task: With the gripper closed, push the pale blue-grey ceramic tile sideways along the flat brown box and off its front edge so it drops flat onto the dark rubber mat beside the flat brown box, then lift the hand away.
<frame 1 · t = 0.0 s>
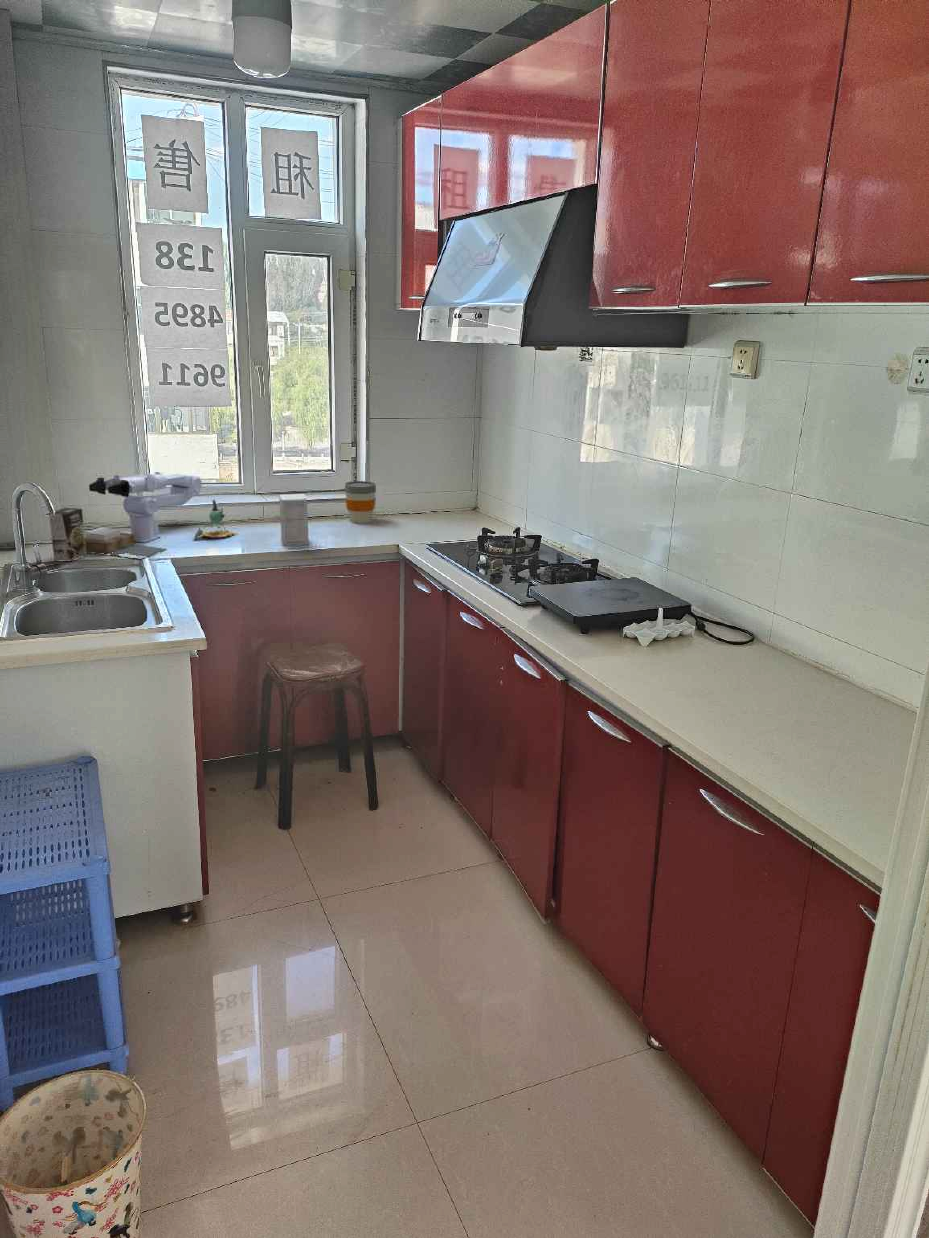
hand: (99, 488, 295), 22 cm above the countertop, fingers open, 7 cm apart
mat: (137, 552, 303), on the countertop
flat brown box: (107, 548, 307), on the countertop
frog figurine: (214, 537, 327), on the countertop
tile: (103, 536, 305), point 4 cm above the countertop, touching flat brown box
supplement box: (294, 542, 323), on the countertop
coffee box: (71, 558, 294), on the countertop
reusable coffee cup: (360, 521, 358), on the countertop
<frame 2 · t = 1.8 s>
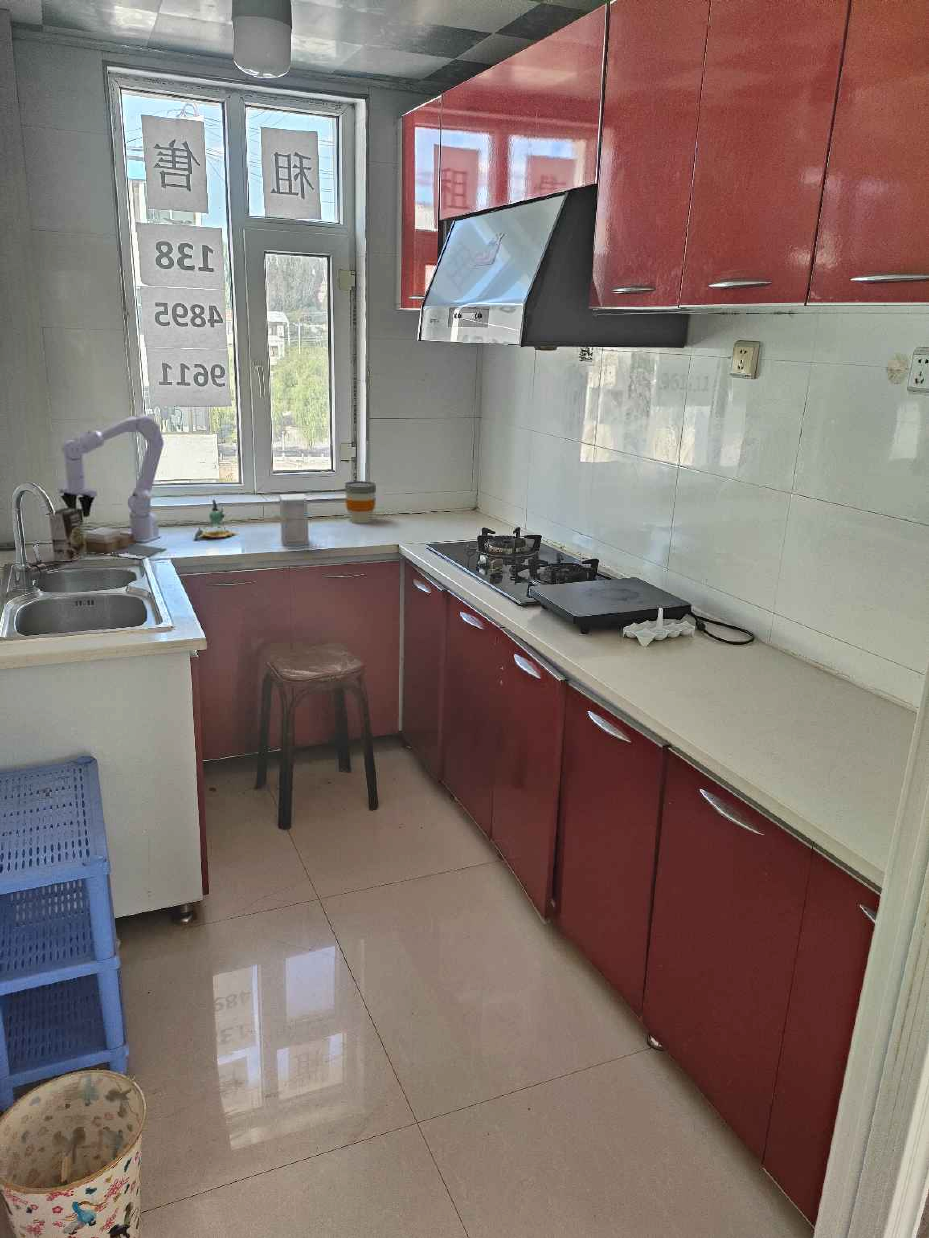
hand: (80, 515, 306), 10 cm above the countertop, fingers open, 5 cm apart
nothing on the countertop moved.
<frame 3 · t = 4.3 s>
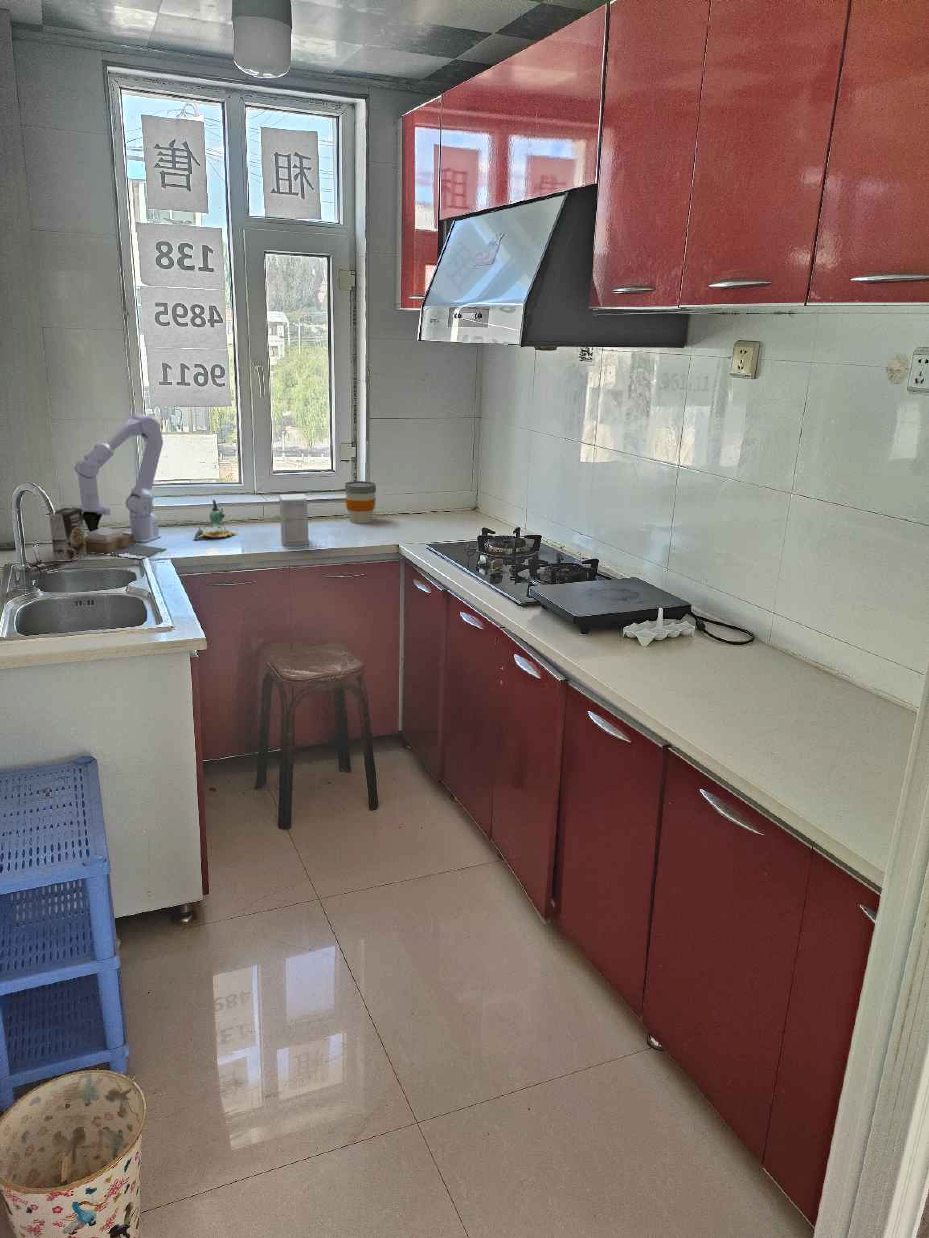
hand: (93, 533, 306), 5 cm above the countertop, fingers closed
tile: (105, 536, 305), point 4 cm above the countertop, touching flat brown box, gripper
everything else where it was.
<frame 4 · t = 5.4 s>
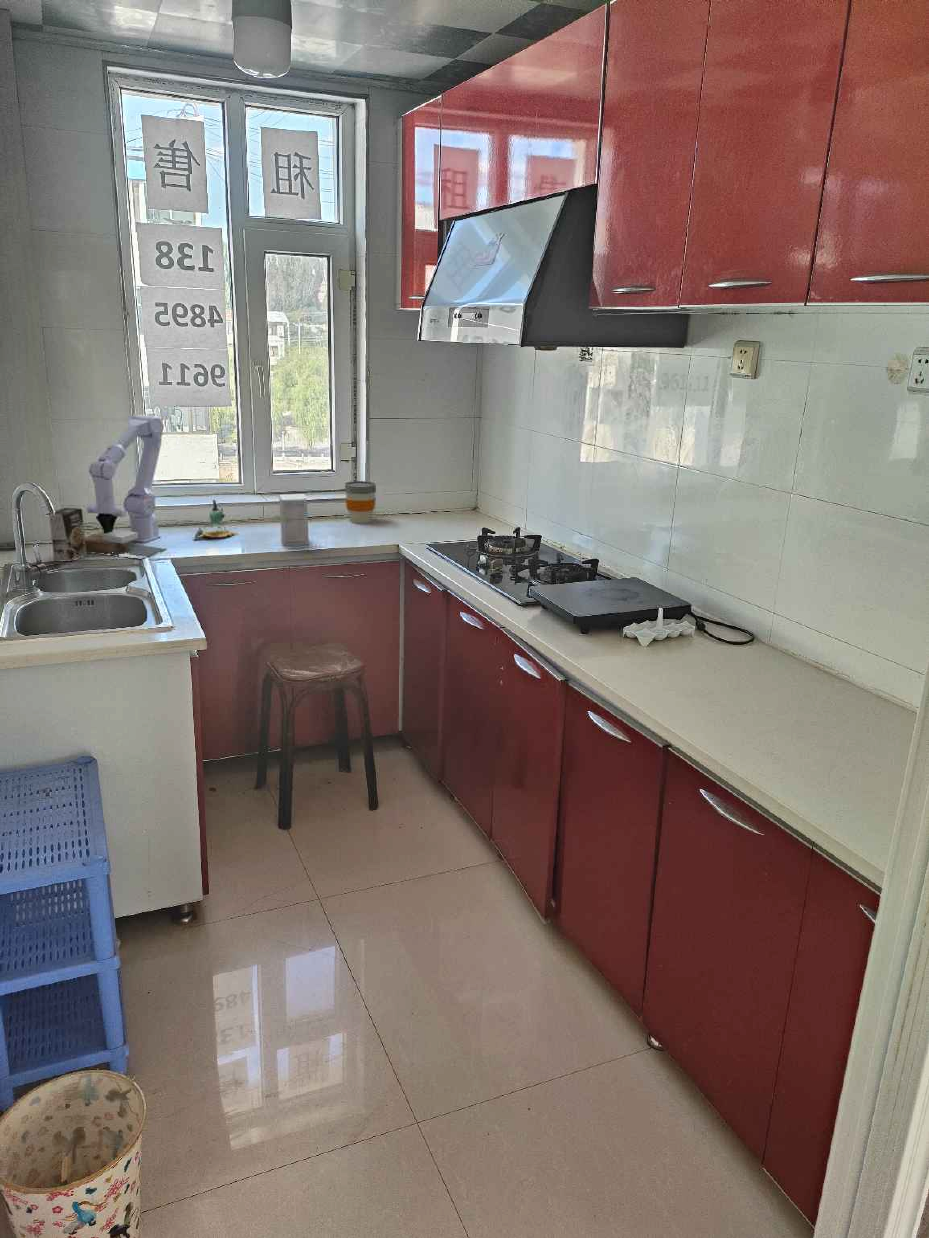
hand: (108, 535, 305), 5 cm above the countertop, fingers closed
tile: (120, 539, 303), point 4 cm above the countertop, touching gripper
everything else where it was.
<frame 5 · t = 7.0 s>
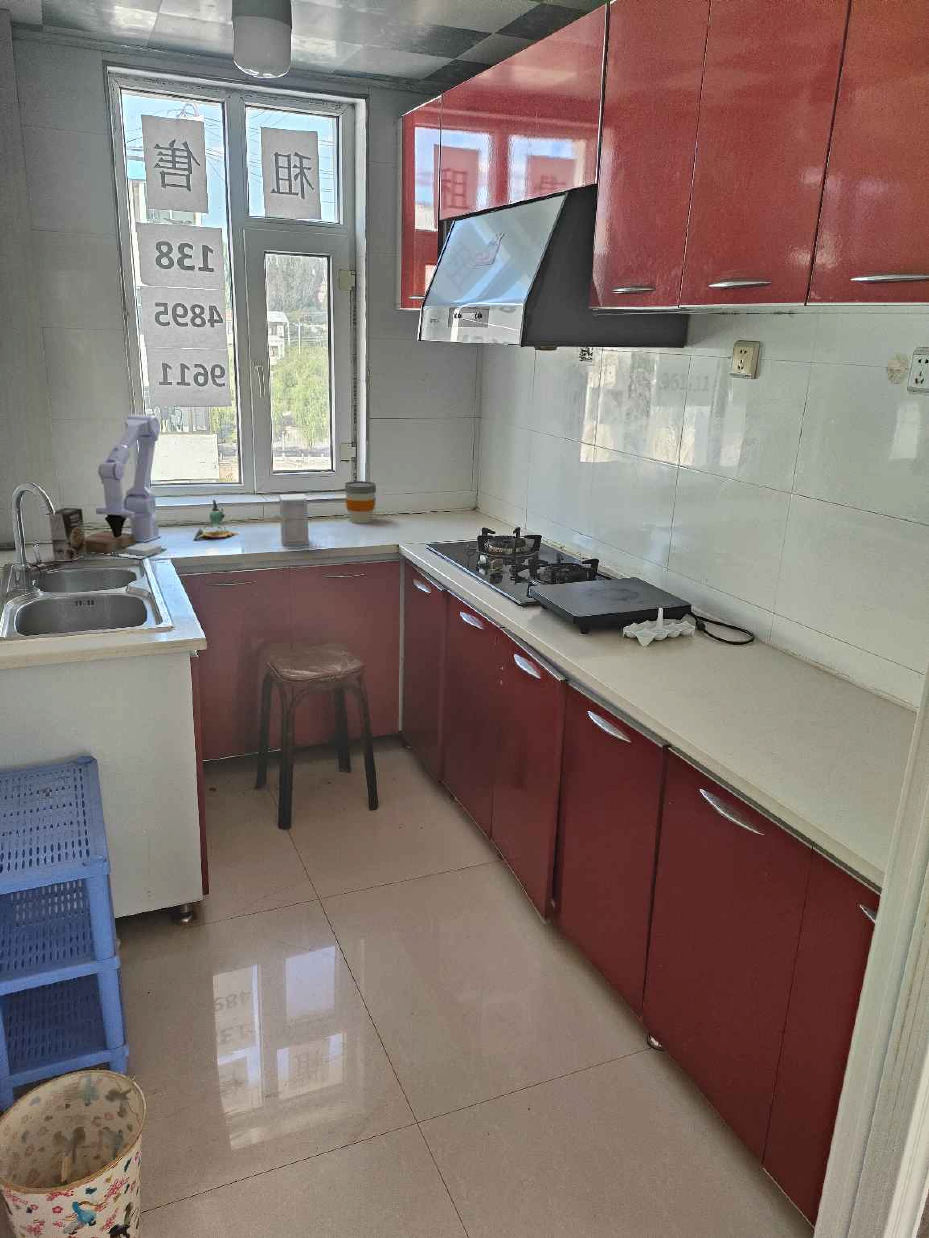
hand: (117, 536, 303), 5 cm above the countertop, fingers closed
tile: (143, 546, 301), point 2 cm above the countertop, tilted 180°, touching mat
everything else where it was.
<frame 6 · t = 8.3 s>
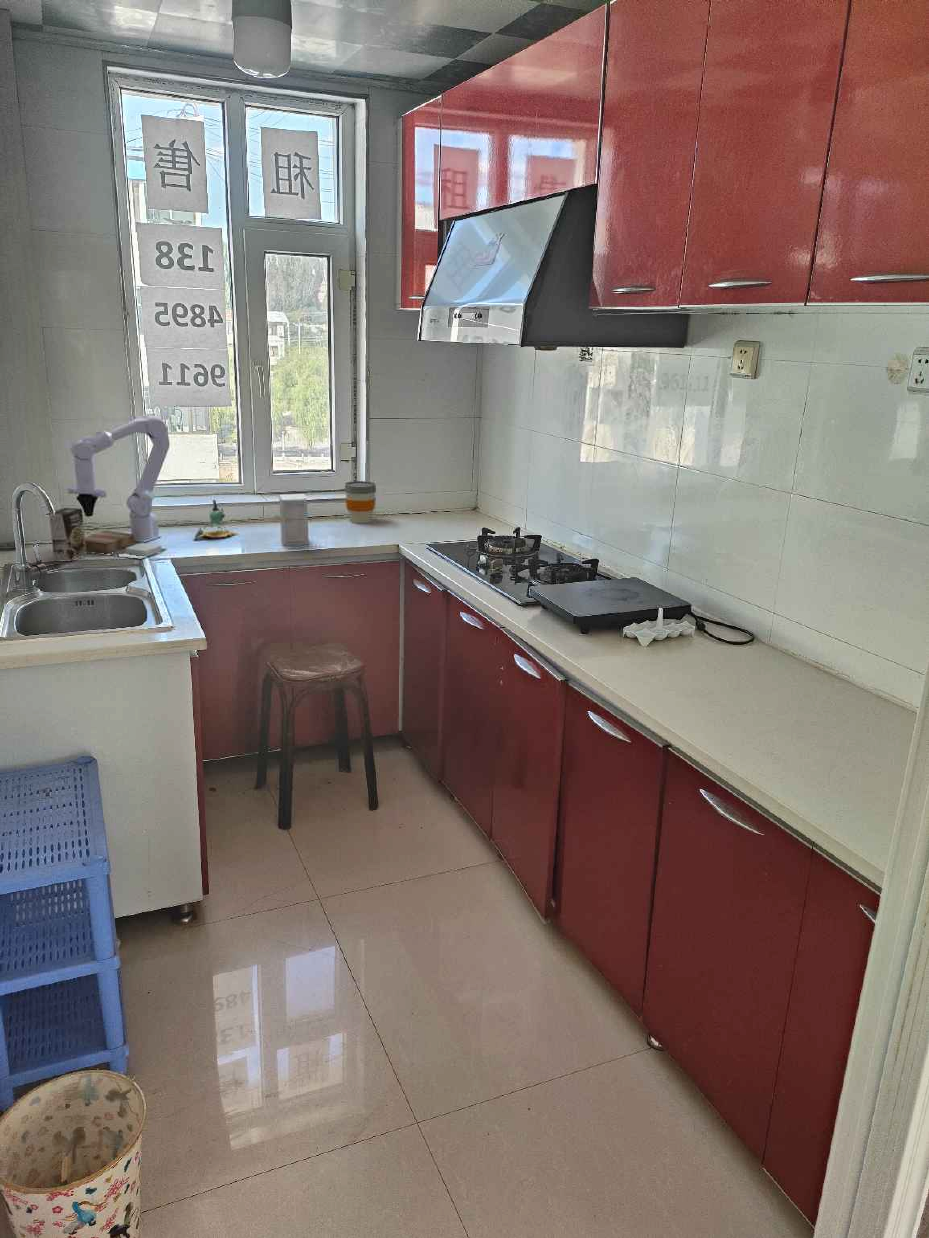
hand: (89, 516, 306), 10 cm above the countertop, fingers closed
nothing on the countertop moved.
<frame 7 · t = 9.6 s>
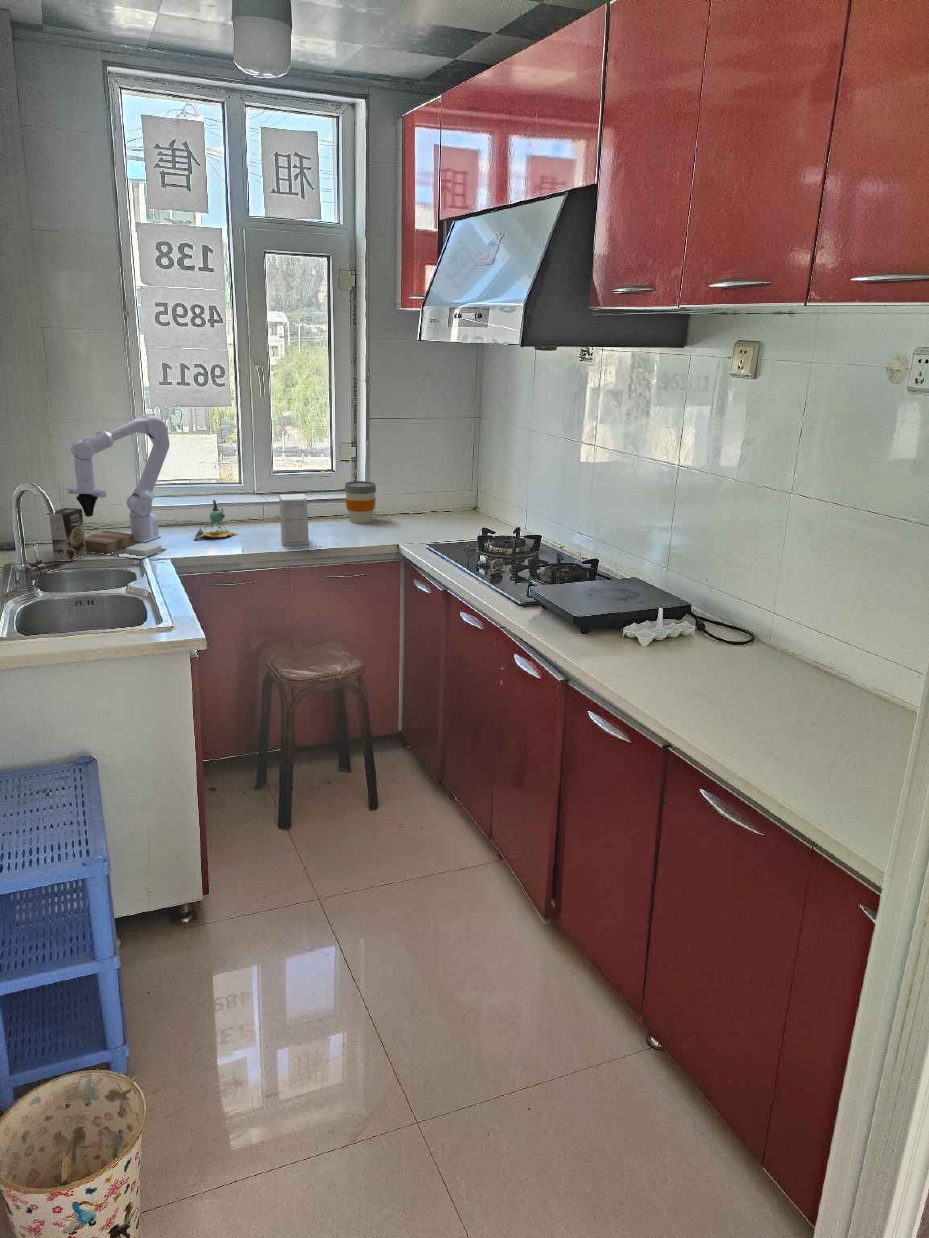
hand: (89, 516, 306), 10 cm above the countertop, fingers closed
nothing on the countertop moved.
at the end: tile inside the target area (1.5 cm from its centre), point 2.4 cm above the countertop; tile point 2.4 cm above the countertop; tile touching mat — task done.
